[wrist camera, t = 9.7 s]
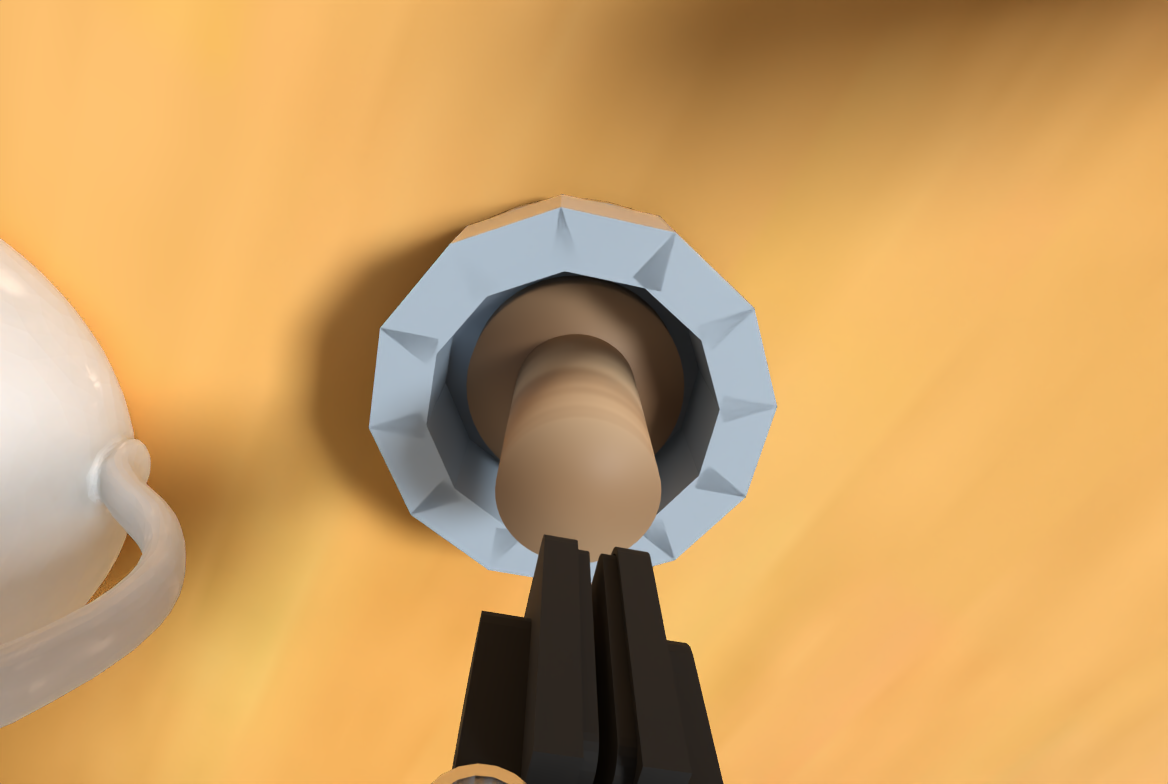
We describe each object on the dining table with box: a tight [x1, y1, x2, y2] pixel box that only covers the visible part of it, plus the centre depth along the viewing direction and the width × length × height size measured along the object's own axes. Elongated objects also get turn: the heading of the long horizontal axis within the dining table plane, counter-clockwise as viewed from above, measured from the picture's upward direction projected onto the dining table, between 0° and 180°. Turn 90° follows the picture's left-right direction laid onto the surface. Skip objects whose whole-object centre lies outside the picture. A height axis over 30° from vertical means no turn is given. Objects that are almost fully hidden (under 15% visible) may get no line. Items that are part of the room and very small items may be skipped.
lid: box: [466, 276, 684, 563], centre depth 18 cm, size 6×6×7 cm
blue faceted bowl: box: [369, 194, 777, 583], centre depth 20 cm, size 11×11×4 cm
